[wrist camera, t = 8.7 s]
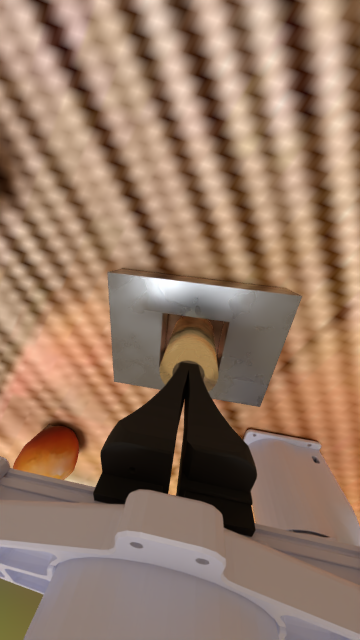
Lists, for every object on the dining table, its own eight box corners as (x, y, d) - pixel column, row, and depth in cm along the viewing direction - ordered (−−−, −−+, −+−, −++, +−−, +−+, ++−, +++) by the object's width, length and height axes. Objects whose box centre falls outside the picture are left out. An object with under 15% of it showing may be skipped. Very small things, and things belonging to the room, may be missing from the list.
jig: (285, 288, 16) (302, 296, 14) (252, 386, 21) (259, 406, 18) (122, 268, 18) (107, 272, 15) (125, 365, 22) (114, 381, 20)
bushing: (216, 317, 18) (224, 354, 12) (209, 352, 20) (212, 401, 14) (175, 311, 19) (161, 344, 12) (172, 346, 20) (157, 391, 14)
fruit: (23, 416, 27) (2, 479, 21) (82, 409, 31) (79, 460, 24) (26, 447, 30) (7, 509, 24) (78, 436, 34) (75, 488, 28)
